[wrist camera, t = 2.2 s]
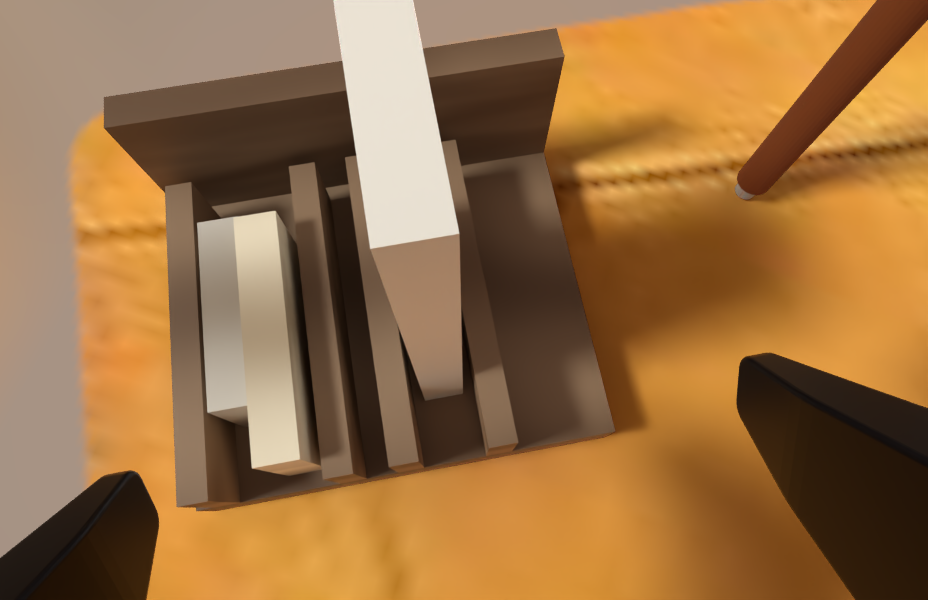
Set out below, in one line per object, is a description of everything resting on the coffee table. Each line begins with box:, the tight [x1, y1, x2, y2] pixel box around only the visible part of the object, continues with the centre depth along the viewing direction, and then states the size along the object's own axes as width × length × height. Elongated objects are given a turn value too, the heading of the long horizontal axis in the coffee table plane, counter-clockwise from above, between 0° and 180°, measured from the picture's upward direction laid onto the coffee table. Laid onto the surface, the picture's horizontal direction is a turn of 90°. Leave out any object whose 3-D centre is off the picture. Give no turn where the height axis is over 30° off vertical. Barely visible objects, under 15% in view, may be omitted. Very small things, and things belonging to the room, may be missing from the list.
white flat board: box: [333, 0, 463, 401], centre depth 15 cm, size 5×1×12 cm, turn 10°
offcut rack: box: [104, 29, 615, 511], centre depth 19 cm, size 11×13×6 cm
